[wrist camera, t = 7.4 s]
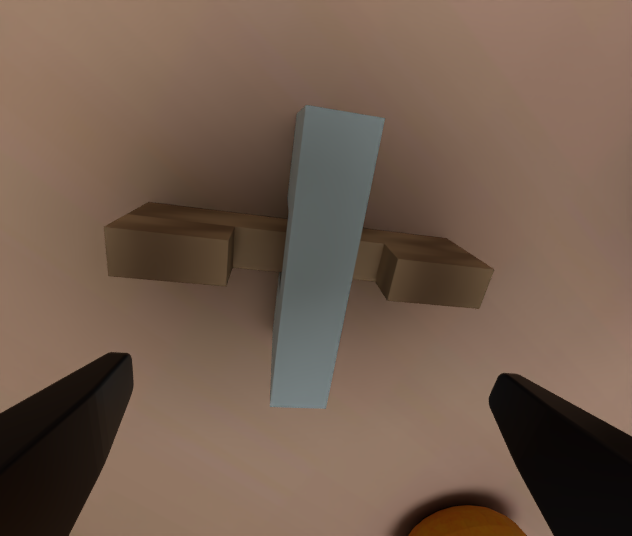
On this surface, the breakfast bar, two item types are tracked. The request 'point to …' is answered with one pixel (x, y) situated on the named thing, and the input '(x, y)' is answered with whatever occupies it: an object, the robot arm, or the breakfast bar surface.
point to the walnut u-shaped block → (268, 252)
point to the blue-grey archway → (320, 249)
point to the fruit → (467, 523)
